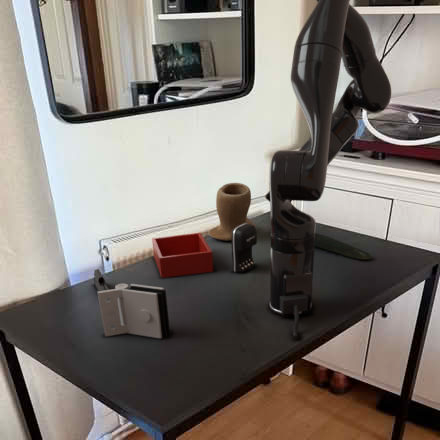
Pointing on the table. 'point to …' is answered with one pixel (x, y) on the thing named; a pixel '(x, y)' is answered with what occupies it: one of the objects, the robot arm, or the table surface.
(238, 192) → the stone cup
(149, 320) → the hinge
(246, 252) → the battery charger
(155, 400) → the table surface
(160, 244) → the open red box
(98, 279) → the lighting fixture
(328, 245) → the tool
